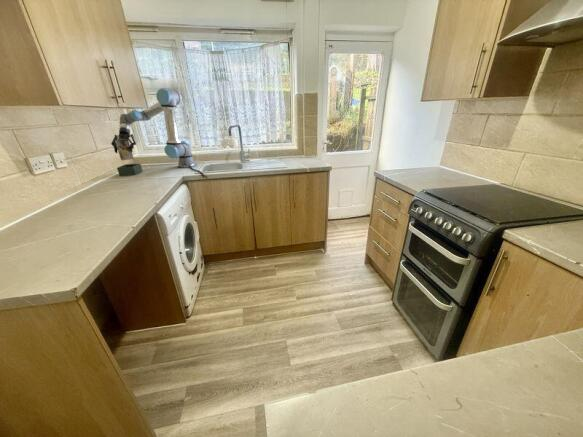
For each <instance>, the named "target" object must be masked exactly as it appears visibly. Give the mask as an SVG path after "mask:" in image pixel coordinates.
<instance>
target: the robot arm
mask: <svg viewBox="0 0 583 437" xmlns="http://www.w3.org/2000/svg"><path fill="white" fill-rule="evenodd" d="M155 94H156V95H155V96H156V97H155V98H156V100H157V102H155V103H153V104H152V105H151V106H149V107H148V108H149V109H147V108H145V109H143V110H142V111H139V110H137V109H132V110H130V111H129V112H128V113H121V114H120V117H119V129H118V134H114V137H113V138H112V141H111V142H110V144H111V146H112V147H113V149H114V152H115V154H118V149H117V146H116V143H115V140H120V139H128V142H129V145H130V151H131V152H132V153H133V149H134V147H135V146H136V145H137V142H136V140H135V136H134V134H133V133H131V125H132V124H134V123H135V122H143V121H145V122H146V121H150V120H151V119H152V118H154V117H155V116H157V115H159V114H160V113H163V114H164V115H163V117H164V124H165V130H166V137H167V140H166V141H165V144H166V145H165V146H164V153H165V154H166V156H167V157H169V158H171V159H177V158H178V167H179V168H185V169H186V168H190V169H191V170H192V171H196V172H198V173H200V174H201V175H202V177H203V178H204V177H205V178H206V179H208V178H209V177H208V176H207V175H204V173H203V172H202V171H200V170H198V169H195V168H193V167H195V166H196V165H197V164H196V163H197V162H196V161H195V160H194V158H193V154H192V149H191V144H190V142H189V140H180V139H179V130H178V122H177V115H176V110H177V106H178V105H180V104H181V103H182V100H183V96H182V94H181V93H180V92H179V91H178V89H174V88H166V87H163V88H159V89H158V90H157V91H156V93H155ZM130 138H131V139H130ZM212 211H213V217H214V223H215V228H216V230H218V224H217V218H216V212H215V208H214V207H212Z"/></svg>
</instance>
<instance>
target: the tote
mask: <svg viewBox="0 0 583 437" xmlns="http://www.w3.org/2000/svg"><path fill="white" fill-rule="evenodd" d="M116 170H117V172H118V175H119V177H125V176H126V177H127V176H136V175H139V174H141V173H142V172H143V168H142V164H141V163H126V164H122V165H120V166H118V167H116Z"/></svg>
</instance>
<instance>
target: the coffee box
mask: <svg viewBox="0 0 583 437" xmlns="http://www.w3.org/2000/svg"><path fill="white" fill-rule="evenodd" d="M115 143H116V146H117V153H118V155H119V158H120V160H121V161H129V160H134V159H135V158H134V155H133V151H132V152H131V151H130V142H129V141H128V139H120V140H118V139H117V140H115Z"/></svg>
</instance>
